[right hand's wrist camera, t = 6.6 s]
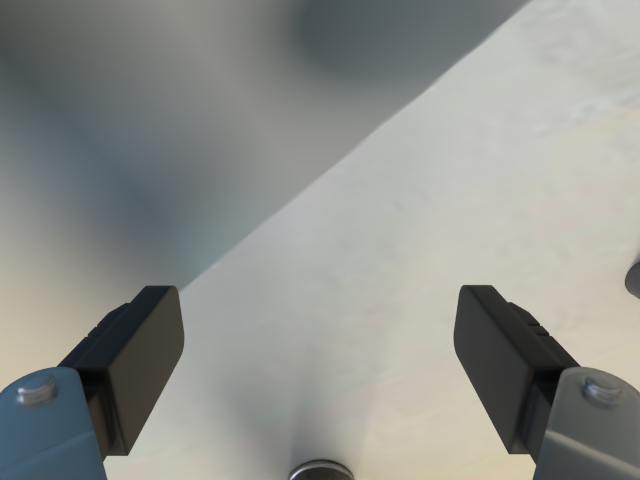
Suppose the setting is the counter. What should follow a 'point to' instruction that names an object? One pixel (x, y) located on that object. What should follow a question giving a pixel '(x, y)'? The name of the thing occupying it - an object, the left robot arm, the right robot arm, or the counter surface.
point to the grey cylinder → (634, 281)
